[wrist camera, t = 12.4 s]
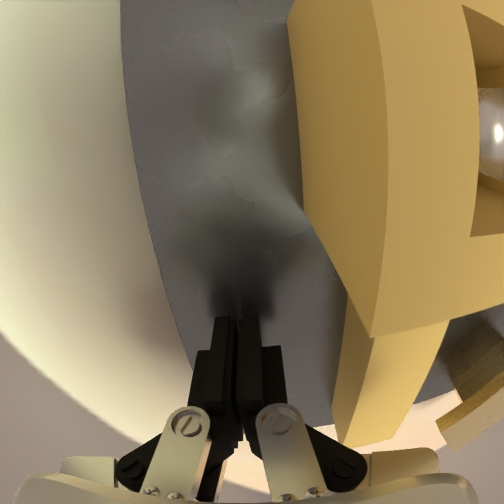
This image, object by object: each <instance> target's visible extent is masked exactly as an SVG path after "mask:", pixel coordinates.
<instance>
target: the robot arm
mask: <svg viewBox="0 0 504 504" xmlns="http://www.w3.org/2000/svg"><path fill="white" fill-rule="evenodd" d="M243 428H244V432H245V436H246V439H247V441H249V444H250V448H251V451H252V453H253V454H255V455H256V456H257V457H259V458H260V459H261V460H263V464H264V468H265V473H266V477H267V481H268V486H269V490H270V494H271V498H272V502H267V503H218V499H219V495H220V490H221V486H222V482H223V478H224V473H225V469H226V465H227V458H228V457H229V456H231V455H232V454H233V453H234V448H238V441H243ZM12 504H481V502H480V500H479V498H478V495H477V493H476V491H475V489H474V488H473V486H472V485H471V483H470V482H469V481H468V480H467V479H466V478H464V477H463V476H460V475H457V474H451V473H440V470H439V460H438V456H437V454H436V453H435V452H434V451H433V450H432V449H429V448H414V449H405V450H395V451H382V452H372V453H371V454H359V453H358V452H356V451H354V450H352V449H350V448H348V447H346V446H344V445H342V444H341V443H339V442H337V441H335V440H333V439H331V438H330V437H328V436H326V435H324V434H322V433H321V432H319V431H317V430H315V429H314V428H312V427H310V426H309V425H307V424H305V423H304V421H303V418H302V415H301V413H300V412H299V410H297V409H296V408H295V407H294V406H291V405H289V404H288V400H287V392H286V383H285V375H284V366H283V358H282V350H281V345H276V346H265V347H262V340H261V331H260V322H259V314H246V315H244V318H243V319H239V332H237V326H236V320H235V319H230V316H218V317H215V320H214V326H213V333H212V339H211V346H210V350H198V352H197V355H196V360H195V366H194V371H193V377H192V382H191V388H190V393H189V399H188V405H187V406H186V407H181V408H179V409H177V410H175V411H174V412H173V413H172V414H171V415H170V416H169V418H168V420H167V422H166V425H165V427H164V430H163V432H162V433H161V434H159V435H157V436H156V437H154V438H153V439H151V440H150V441H148V442H146V443H145V444H143V445H142V446H140V447H138V448H137V449H135V450H133V451H132V452H130V453H128V454H127V455H125V456H123V457H122V458H121V459H115V458H114V457H85V456H70V457H68V458H66V459H65V460H64V461H63V462H62V465H61V469H60V473H55V472H39V473H35V474H31V475H29V476H27V477H26V478H25V479H24V480H23V481H22V482H21V484H20V486H19V488H18V490H17V492H16V495H15V497H14V499H13V502H12Z"/></svg>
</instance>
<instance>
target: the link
mask: <svg viewBox="0 0 504 504" xmlns="http://www.w3.org/2000/svg"><path fill="white" fill-rule="evenodd" d="M286 22H287V28H288V36H289V43H290V50H291V58H292V66H293V75H294V84H295V93H296V103H297V114H298V125H299V138H300V151H301V166H302V183H303V202H304V212H305V214H306V216H307V218H308V219H309V221H310V223H311V225H312V226H313V228H314V230H315V232H316V234H317V235H318V237H319V239H320V241H321V243H322V244H323V246H324V248H325V250H326V252H327V254H328V256H329V257H330V259H331V261H332V263H333V265H334V267H335V269H336V271H337V273H338V274H339V276H340V278H341V280H342V282H343V284H344V286H345V288H346V290H347V292H348V297H347V307H346V316H345V325H344V333H343V340H342V348H341V354H340V361H339V367H338V373H337V379H336V385H335V391H334V396H333V401H332V406H331V410H332V415H333V419H334V424H335V428H336V433H337V437H338V442H339V443H341V444H342V445H344V446H346V447H348V448H350V449H352V448H357V447H361V446H365V445H369V444H373V443H377V442H381V441H384V440H388V439H391V438H393V436H394V435H395V433H396V431H397V430H398V428H399V427H400V425H401V423H402V422H403V420H404V418H405V416H406V415H407V413H408V411H409V409H410V408H411V406H412V404H413V402H414V400H415V398H416V397H417V395H418V393H419V391H420V389H421V387H422V385H423V383H424V381H425V379H426V377H427V374H428V372H429V370H430V368H431V366H432V364H433V361H434V359H435V357H436V354H437V352H438V350H439V347H440V345H441V342H442V340H443V337H444V335H445V332H446V329H447V327H448V324H449V321H450V320H451V319H454V318H458V317H461V316H465V315H468V314H471V313H475V312H478V311H481V310H484V309H487V308H490V307H493V306H496V305H499V304H502V303H504V182H502V181H499V180H497V179H495V178H492V177H490V176H487V175H485V174H482V173H479V172H478V169H479V143H480V127H479V102H478V90H477V88H503V89H504V0H295V1H294V3H293V6H292V8H291V11H290V13H289V16H288V18H287V21H286Z"/></svg>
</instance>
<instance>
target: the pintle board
mask: <svg viewBox="0 0 504 504" xmlns="http://www.w3.org/2000/svg"><path fill="white" fill-rule="evenodd" d="M294 1H295V0H121V43H122V59H123V72H124V83H125V93H126V102H127V110H128V118H129V125H130V132H131V138H132V145H133V151H134V157H135V162H136V168H137V173H138V179H139V184H140V189H141V194H142V198H143V203H144V208H145V212H146V217H147V221H148V225H149V229H150V234H151V238H152V242H153V246H154V249H155V253H156V257H157V261H158V265H159V268H160V272H161V275H162V279H163V282H164V286H165V289H166V293H167V296H168V299H169V302H170V306H171V309H172V312H173V315H174V318H175V321H176V324H177V327H178V330H179V333H180V336H181V339H182V342H183V345H184V348H185V351H186V354H187V356H188V359H189V362H190V365H191V367H192V370H193V371H194V366H195V360H196V355H197V352H198V350H210V346H211V339H212V333H213V326H214V320H215V317H218V316H230V319H235V320H236V326H237V332H239V319H243V318H244V315H246V314H259V322H260V331H261V340H262V347H265V346H276V345H281V350H282V358H283V366H284V375H285V383H286V392H287V400H288V404H289V405H291V406H294V407H295V408H296V409H297V410H299V412H300V413H301V415H302V418H303V421H304V423H305V424H307V425H309V426H310V427H318V426H324V425H330V424H334V419H333V415H332V410H331V406H332V401H333V396H334V391H335V385H336V379H337V373H338V367H339V361H340V354H341V348H342V340H343V333H344V325H345V316H346V307H347V297H348V292H347V290H346V288H345V286H344V284H343V282H342V280H341V278H340V276H339V274H338V273H337V271H336V269H335V267H334V265H333V263H332V261H331V259H330V257H329V256H328V254H327V252H326V250H325V248H324V246H323V244H322V243H321V241H320V239H319V237H318V235H317V234H316V232H315V230H314V228H313V226H312V225H311V223H310V221H309V219H308V218H307V216H306V214H305V212H304V202H303V183H302V166H301V151H300V138H299V125H298V114H297V103H296V93H295V84H294V75H293V66H292V58H291V50H290V43H289V36H288V28H287V22H286V21H287V18H288V16H289V13H290V11H291V8H292V6H293V3H294ZM477 90H478V102H479V127H480V143H479V169H478V172H479V173H482V174H485V175H487V176H490V177H492V178H495V179H497V180H499V181H502V182H504V89H503V88H477ZM452 390H455V392H456V394H457V395H458V397H459V399H460V401H461V404H460V405H458V406H457V407H455V408H454V409H453V410H451V411H450V412H448V413H447V414H445V415H444V416H442V417H440V418H439V419H437V420H436V423H437V426H438V428H439V430H440V433H441V434H442V436H443V437H444V439H445V441H446V442H447V444H448V445H449V447H450V448H451V450H452V452H455V451H456V450H458V449H460V448H461V447H463V446H464V445H466V444H467V443H469V442H470V441H472V440H473V439H475V438H476V437H478V436H479V435H480V434H482V433H483V432H484V431H486V430H487V429H489V428H490V427H491V426H492V425H494V424H495V423H496V422H497V421H499V420H500V419H501V418H503V417H504V303H502V304H499V305H496V306H493V307H490V308H487V309H484V310H481V311H478V312H475V313H471V314H468V315H465V316H461V317H458V318H454V319H451V320H450V321H449V324H448V327H447V329H446V332H445V335H444V337H443V340H442V342H441V345H440V347H439V350H438V352H437V354H436V357H435V359H434V361H433V364H432V366H431V368H430V370H429V372H428V374H427V377H426V379H425V381H424V383H423V385H422V387H421V389H420V391H419V393H418V395H417V397H416V398H415V400H414V402H413V404H416V403H419V402H422V401H425V400H428V399H431V398H434V397H436V396H439V395H442V394H444V393H447V392H450V391H452ZM413 404H412V405H413ZM244 433H245V432H244V428H243V434H244Z"/></svg>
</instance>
